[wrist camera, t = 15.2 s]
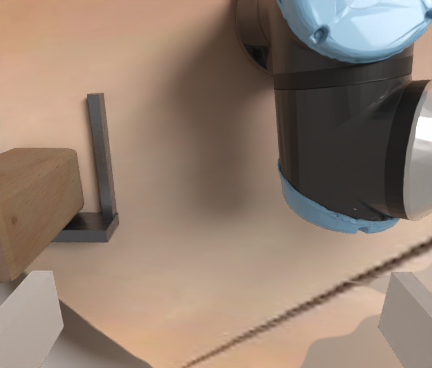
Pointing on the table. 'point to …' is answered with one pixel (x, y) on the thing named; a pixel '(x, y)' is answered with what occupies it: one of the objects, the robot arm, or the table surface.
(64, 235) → the end stop channel
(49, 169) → the wooden block
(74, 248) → the table surface
